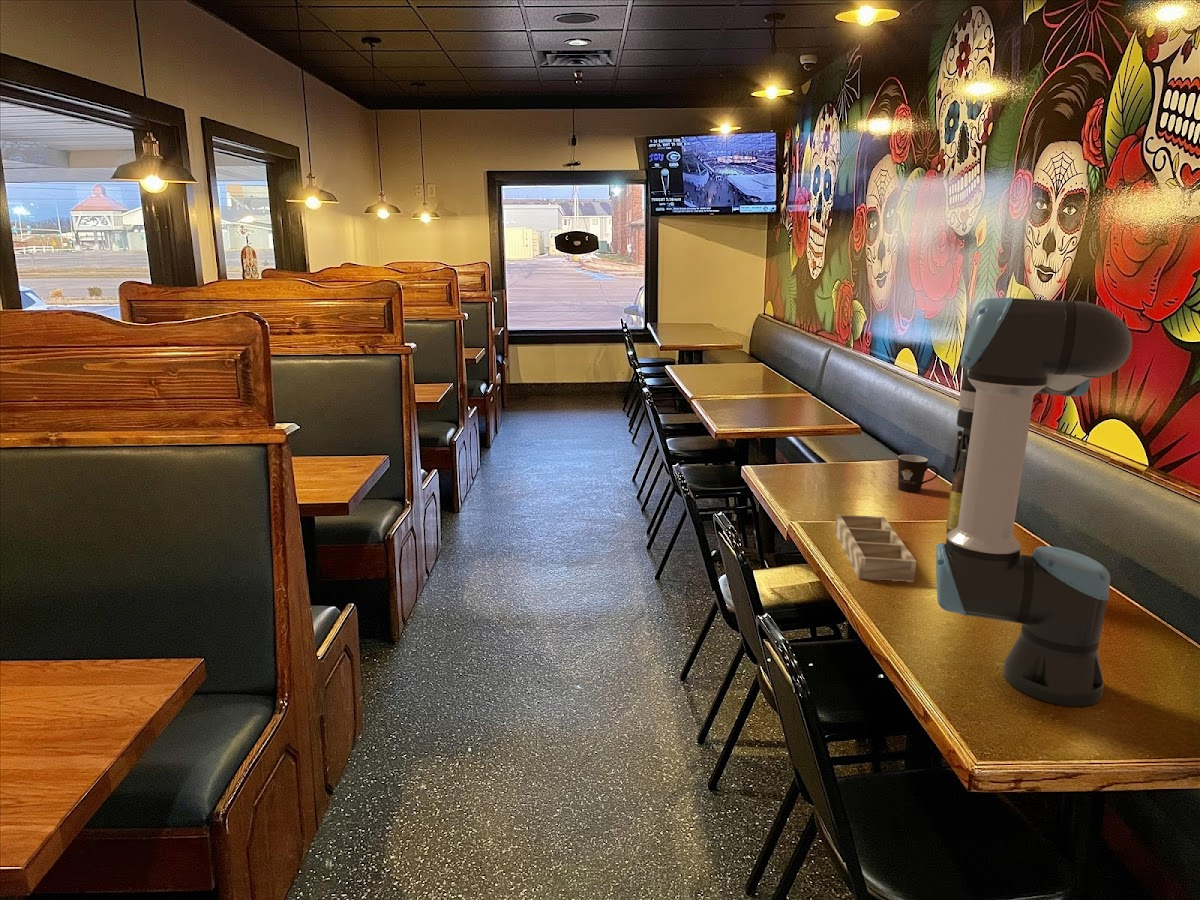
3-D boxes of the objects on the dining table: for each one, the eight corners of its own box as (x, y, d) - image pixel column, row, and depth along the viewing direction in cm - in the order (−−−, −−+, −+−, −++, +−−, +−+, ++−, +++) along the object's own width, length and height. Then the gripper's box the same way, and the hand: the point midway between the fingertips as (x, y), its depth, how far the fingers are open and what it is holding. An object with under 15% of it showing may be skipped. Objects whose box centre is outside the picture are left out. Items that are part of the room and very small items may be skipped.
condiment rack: (913, 582, 187) (916, 561, 185) (858, 579, 188) (861, 558, 186) (881, 535, 217) (884, 517, 215) (834, 532, 218) (836, 514, 216)
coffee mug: (888, 487, 260) (892, 456, 258) (909, 484, 264) (913, 453, 261) (916, 497, 250) (920, 465, 248) (937, 494, 254) (942, 463, 251)
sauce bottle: (977, 542, 187) (990, 455, 182) (947, 539, 188) (959, 453, 183) (971, 532, 193) (983, 448, 188) (942, 529, 194) (953, 446, 189)
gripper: (1011, 419, 174) (995, 525, 179) (979, 403, 193) (966, 499, 198) (974, 417, 175) (959, 523, 180) (946, 401, 193) (933, 497, 199)
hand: (963, 510), depth 189 cm, fingers closed on sauce bottle, 6 cm apart
